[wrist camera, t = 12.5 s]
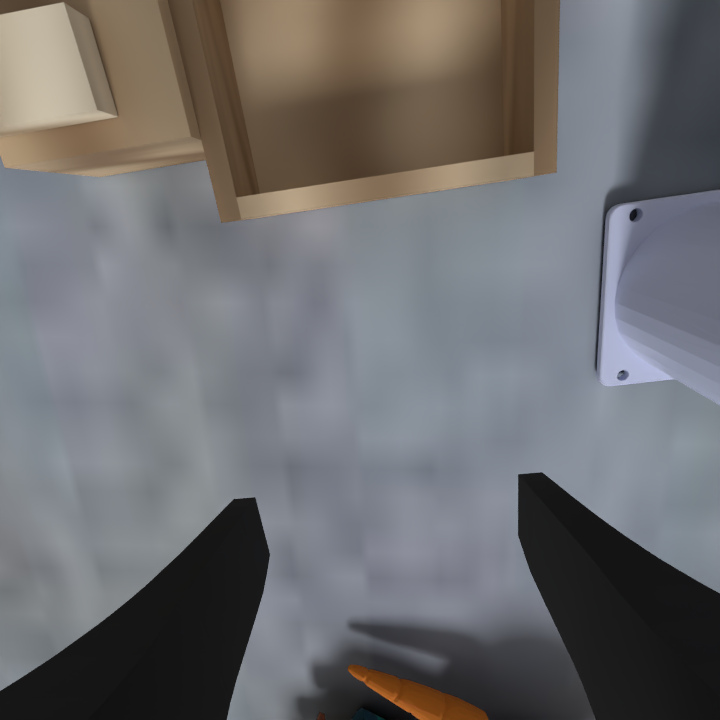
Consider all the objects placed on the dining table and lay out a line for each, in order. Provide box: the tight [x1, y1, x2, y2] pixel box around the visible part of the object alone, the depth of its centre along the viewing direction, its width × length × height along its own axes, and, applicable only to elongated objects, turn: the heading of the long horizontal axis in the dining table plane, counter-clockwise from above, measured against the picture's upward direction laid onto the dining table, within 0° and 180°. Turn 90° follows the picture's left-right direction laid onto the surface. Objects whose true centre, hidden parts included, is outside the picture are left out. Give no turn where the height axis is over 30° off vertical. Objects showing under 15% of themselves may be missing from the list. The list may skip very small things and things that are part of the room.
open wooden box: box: [0, 0, 560, 223], centre depth 14 cm, size 17×9×5 cm, turn 98°
